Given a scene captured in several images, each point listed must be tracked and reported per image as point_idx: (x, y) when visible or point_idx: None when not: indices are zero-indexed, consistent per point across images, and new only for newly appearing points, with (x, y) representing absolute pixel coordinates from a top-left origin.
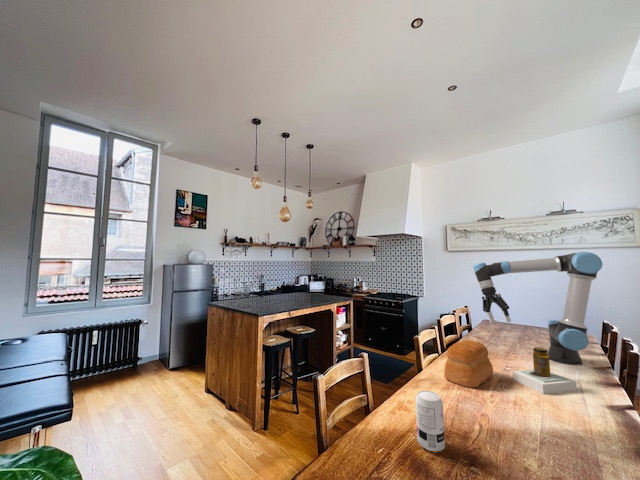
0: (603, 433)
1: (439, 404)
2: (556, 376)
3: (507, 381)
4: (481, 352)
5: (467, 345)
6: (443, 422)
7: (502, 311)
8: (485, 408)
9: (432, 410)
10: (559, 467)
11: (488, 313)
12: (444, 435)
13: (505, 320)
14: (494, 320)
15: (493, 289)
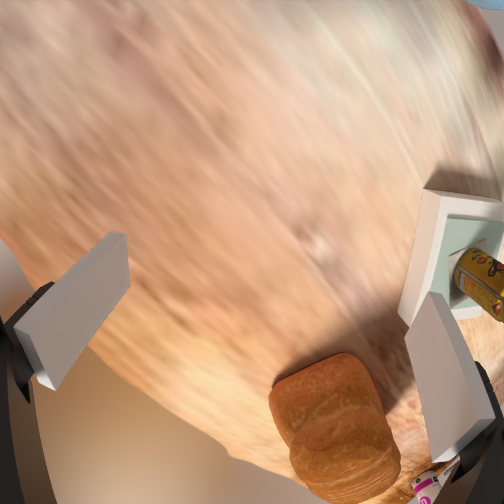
0: None
1: None
2: (489, 238)
3: (394, 336)
4: (400, 456)
5: (374, 489)
6: (441, 487)
7: (440, 454)
8: (425, 427)
9: None
10: (499, 404)
11: (61, 368)
12: (435, 477)
13: (410, 354)
14: (114, 248)
15: None
